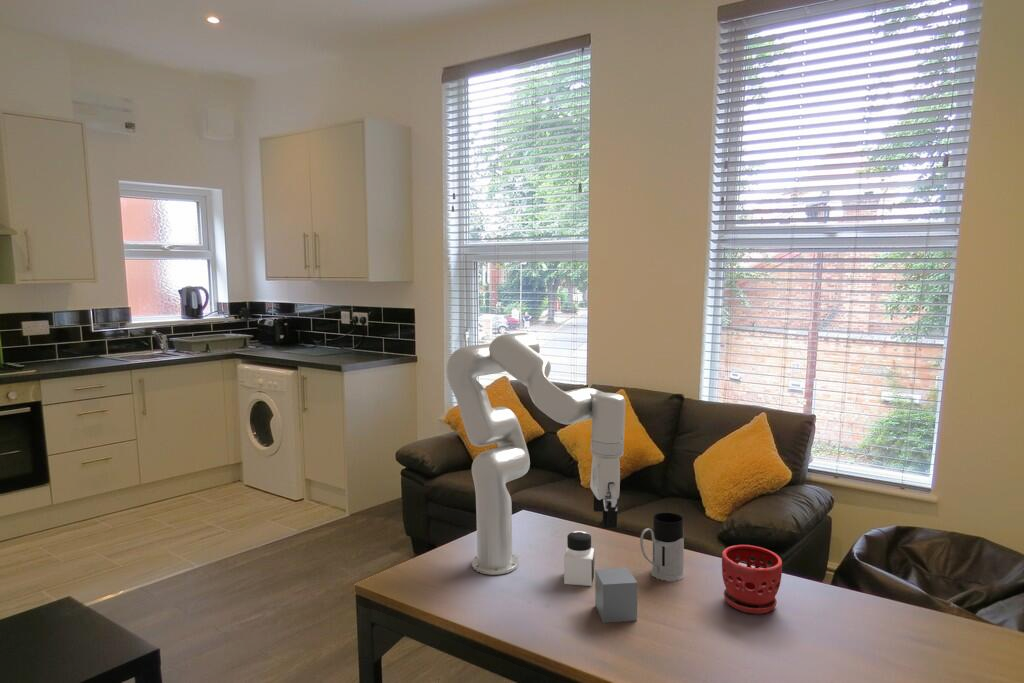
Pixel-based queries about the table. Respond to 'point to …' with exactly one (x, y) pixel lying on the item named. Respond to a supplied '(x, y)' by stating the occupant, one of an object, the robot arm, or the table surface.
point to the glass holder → (667, 546)
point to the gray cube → (616, 595)
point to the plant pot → (751, 578)
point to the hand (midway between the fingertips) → (604, 518)
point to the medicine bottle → (579, 559)
